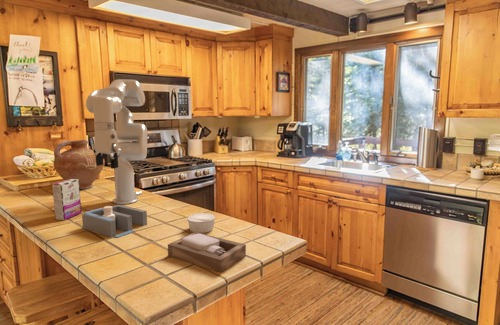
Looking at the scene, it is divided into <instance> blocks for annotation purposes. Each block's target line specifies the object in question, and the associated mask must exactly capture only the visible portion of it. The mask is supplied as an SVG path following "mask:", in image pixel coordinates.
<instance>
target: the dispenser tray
mask: <svg viewBox="0 0 500 325" xmlns="http://www.w3.org/2000/svg"><path fill="white" fill-rule="evenodd" d="M195 234H203V235H206V236H209V237H212V238H215V239H218V240H219V247H222V248H224V249H225V250H224V251H226V253H224V252H222V254H220V255H214V254H211V253H207V252H204V251H200V250H197V249H193V248H190V247H186V246H183V245H181V243H182V239H183V238H184V237H187V236H191V235H195ZM246 249H247V244H245V243H241V242H237V241H234V240H233V241H232V240H229V239H225V238H222V237H218V236H217V237H216V236H214V235H213V236H212V235H209V234H206V233H198V232H191V233H190V234H188V235H185V236H183V237H181V238H179V239H176V240H174V241H173V242H170V243H168V244H167V256H168V257H171V258H174V259H177V260H180V261H184V262H186V263H189V264H193V265H196V266H199V267H202V268H205V269H209V270H211V271H214V272H217V273H223V272H224V271H226V270H227V269H229V268H230V267H232V266H233V265H234V264H236V263H238V262H239V261H241V260H242V259H243V258H245V257H246V256H247V250H246Z"/></svg>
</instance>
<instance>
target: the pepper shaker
mask: <svg viewBox="0 0 500 325" xmlns="http://www.w3.org/2000/svg"><path fill="white" fill-rule="evenodd" d="M112 206H113V205H112ZM112 206H111V205H105V206H103V208H104V215H102V216H104V217H108V218H111V219H115V215H114V214H112ZM115 229H117V228H116V225H115Z"/></svg>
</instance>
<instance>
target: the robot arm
mask: <svg viewBox="0 0 500 325" xmlns="http://www.w3.org/2000/svg"><path fill="white" fill-rule="evenodd" d="M145 103H146V96H145V92H144V90H143V87H142V85H141V83H140V82H139V81H138V80H137V79H128V78H127V79H125V78H124V79H122V78H121V79H114V80H112V81H111V83H110V85H108V86H107V87H103V88H99V89H96V90H94V91H92V92H90V93H89V95H88V96H87V98H86V101H85V107H86V110H87V111H88V112H89V113H91V114H93V124H94V125H93V126H94V135H93V136H94V143H93V144H92V145H91V148H92V150H93V152H94V153H95V156H96V166H99V165H103V159H104V155H103V154H105V155H109V156H110V169H113V170H114V171H113V173H114V191H115V198H113V199H112V203H113V204H115V205H129V204H133V203H137V202H138V201H139V198H138V196H141V195H142V194H143V193H142V191H140V190H139V191H135V174H134V173H135V172H134V167H133V165H132V164H131V163H130V162H129V161H144V160H145V159H146V158H147V157H148V156H147V154H148V128H147V126H146V125H145V124H144V123H139V122H135V123H134V119H135V118H134V117H135V116H134V114H133V112H131V111H130V110H129V108H127V107H141V106H144V105H145ZM114 114H116V124H115V117H114Z"/></svg>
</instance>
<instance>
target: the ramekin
mask: <svg viewBox="0 0 500 325" xmlns="http://www.w3.org/2000/svg"><path fill="white" fill-rule="evenodd" d="M215 219H216V217H215V215H214V214H212V213H206V212H205V213H204V212H201V213H200V212H199V213H194V214H190V215H189V216H187V222H188V227H189V231H191V233H194V232H198V233H202V234H206V233H209V232H211V231H212V230H213V229H214V225H215V221H216V220H215Z"/></svg>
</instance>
